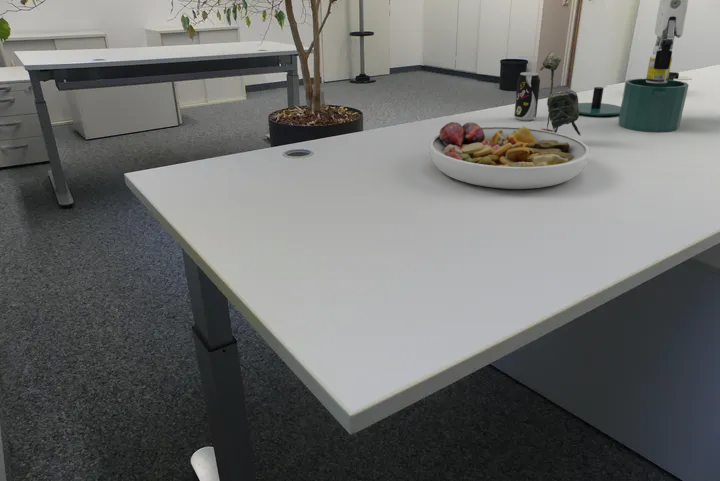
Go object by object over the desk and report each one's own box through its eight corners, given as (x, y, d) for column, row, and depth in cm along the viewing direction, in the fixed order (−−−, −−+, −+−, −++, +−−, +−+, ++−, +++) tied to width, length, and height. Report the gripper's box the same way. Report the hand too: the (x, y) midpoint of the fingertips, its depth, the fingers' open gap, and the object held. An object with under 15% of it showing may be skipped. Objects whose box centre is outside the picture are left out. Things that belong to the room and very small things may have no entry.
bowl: (602, 161, 112) (608, 122, 109) (559, 207, 90) (566, 160, 87) (466, 142, 128) (468, 108, 124) (401, 177, 105) (401, 137, 102)
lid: (622, 107, 158) (626, 84, 155) (625, 118, 145) (630, 93, 143) (567, 105, 163) (570, 82, 160) (566, 116, 150) (570, 91, 147)
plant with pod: (572, 150, 120) (586, 54, 111) (522, 143, 126) (531, 51, 117) (582, 141, 126) (596, 50, 117) (533, 135, 132) (543, 48, 123)
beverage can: (509, 119, 148) (513, 73, 143) (521, 115, 152) (526, 70, 146) (527, 122, 144) (533, 75, 139) (540, 118, 148) (545, 72, 143)
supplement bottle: (655, 80, 137) (662, 44, 133) (671, 83, 133) (679, 46, 129) (640, 82, 135) (647, 46, 132) (656, 84, 131) (664, 47, 128)
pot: (672, 118, 144) (681, 77, 140) (684, 136, 128) (694, 90, 124) (616, 116, 149) (623, 76, 144) (620, 132, 132) (628, 88, 128)
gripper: (702, -16, 116) (682, 72, 124) (688, -17, 131) (671, 63, 138) (662, -16, 119) (645, 72, 126) (653, -16, 133) (639, 62, 141)
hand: (659, 66), depth 132 cm, fingers closed on supplement bottle, 4 cm apart
